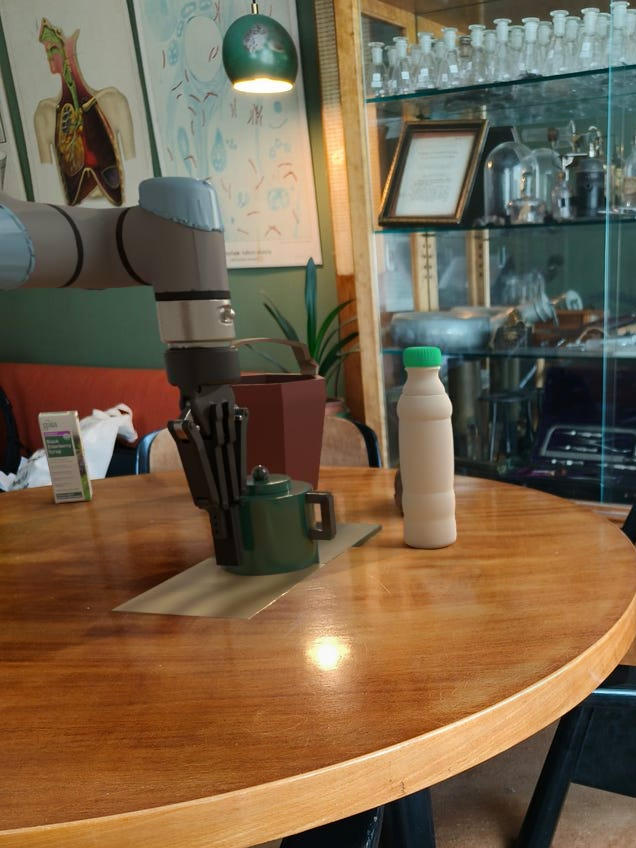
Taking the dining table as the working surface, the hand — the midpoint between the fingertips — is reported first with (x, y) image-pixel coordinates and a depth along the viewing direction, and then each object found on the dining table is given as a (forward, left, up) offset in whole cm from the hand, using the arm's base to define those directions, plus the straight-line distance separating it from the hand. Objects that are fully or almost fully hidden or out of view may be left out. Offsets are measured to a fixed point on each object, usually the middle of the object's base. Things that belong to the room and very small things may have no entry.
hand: (230, 564), depth 100 cm
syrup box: (-52, +41, -3) cm, 67 cm away
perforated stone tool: (+8, +43, -3) cm, 44 cm away
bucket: (-21, +53, -3) cm, 58 cm away
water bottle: (+17, +23, -3) cm, 29 cm away
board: (0, +9, -3) cm, 10 cm away
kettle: (0, +9, -2) cm, 9 cm away
